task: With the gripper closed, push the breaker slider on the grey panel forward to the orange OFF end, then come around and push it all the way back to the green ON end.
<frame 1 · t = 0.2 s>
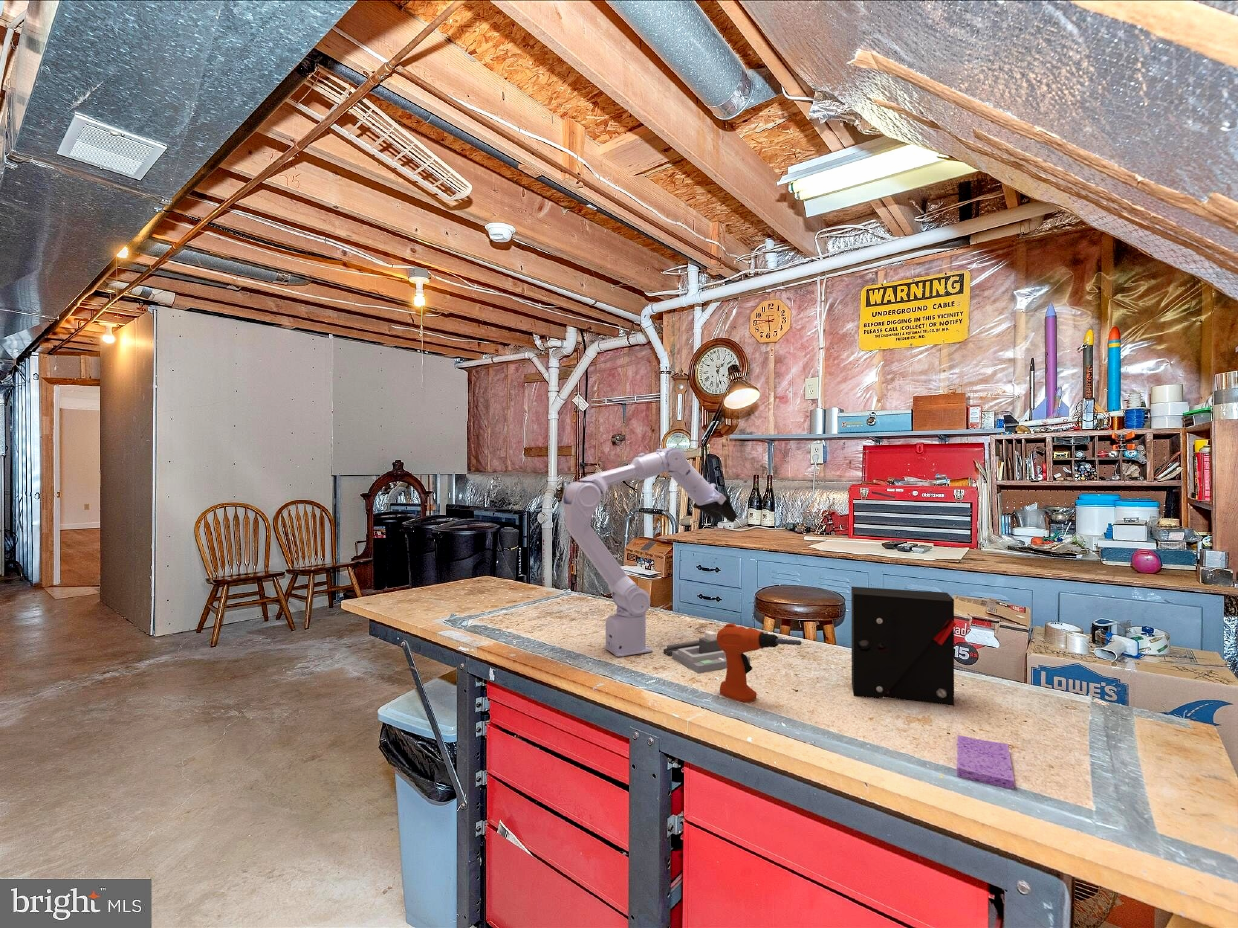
hand: (726, 517, 152), 31 cm above the table, fingers open, 7 cm apart
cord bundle: (692, 651, 140), on the table
sponges: (983, 767, 87), on the table
breaker slider: (710, 643, 133), point 4 cm above the table, slide at 3.0 cm
breaker panel: (710, 660, 133), on the table
electrical component: (900, 694, 114), on the table
toy drill: (757, 702, 110), on the table
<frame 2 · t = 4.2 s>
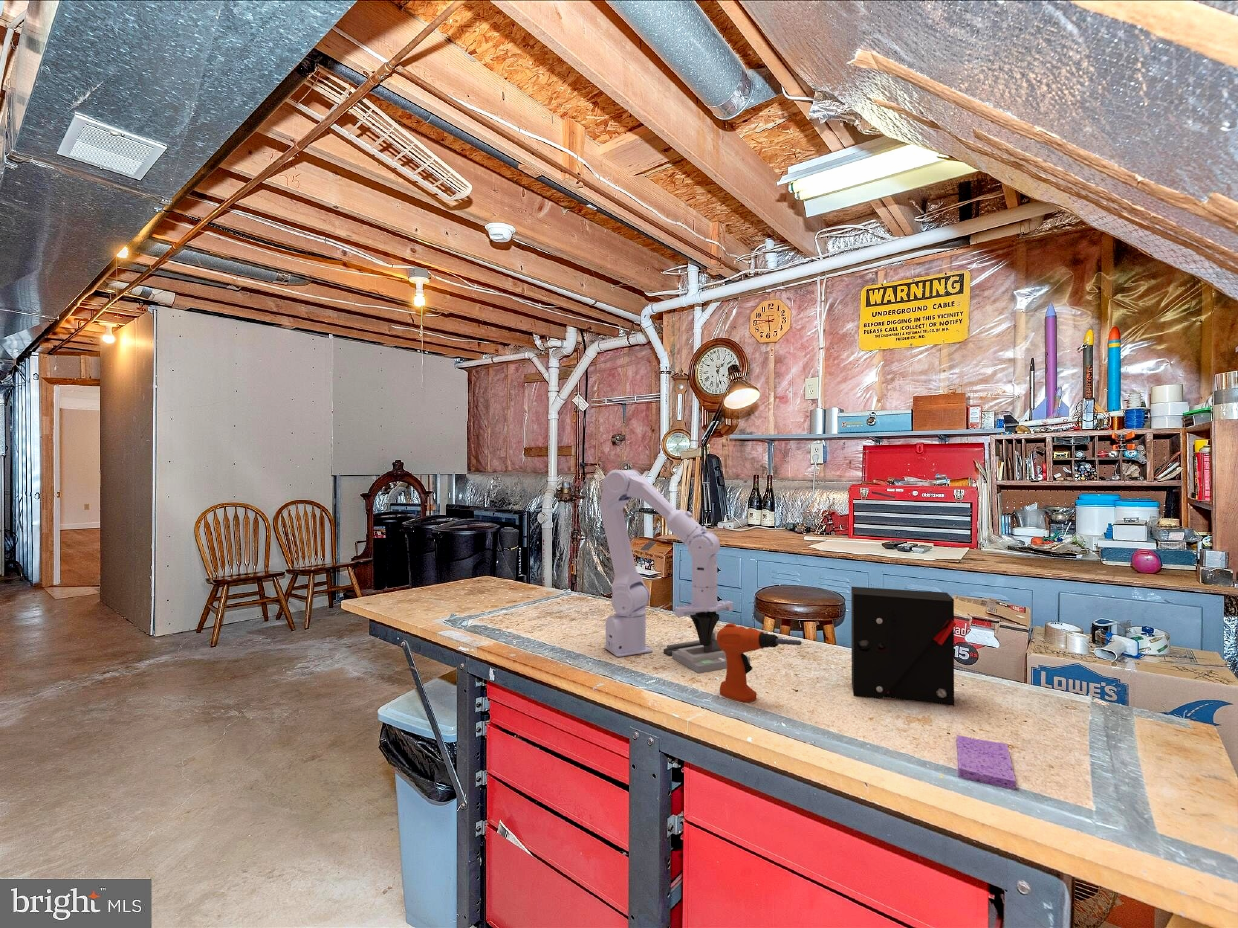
hand: (704, 644, 132), 4 cm above the table, fingers closed
breaker slider: (715, 642, 133), point 4 cm above the table, slide at 4.3 cm, touching gripper
everything else where it was.
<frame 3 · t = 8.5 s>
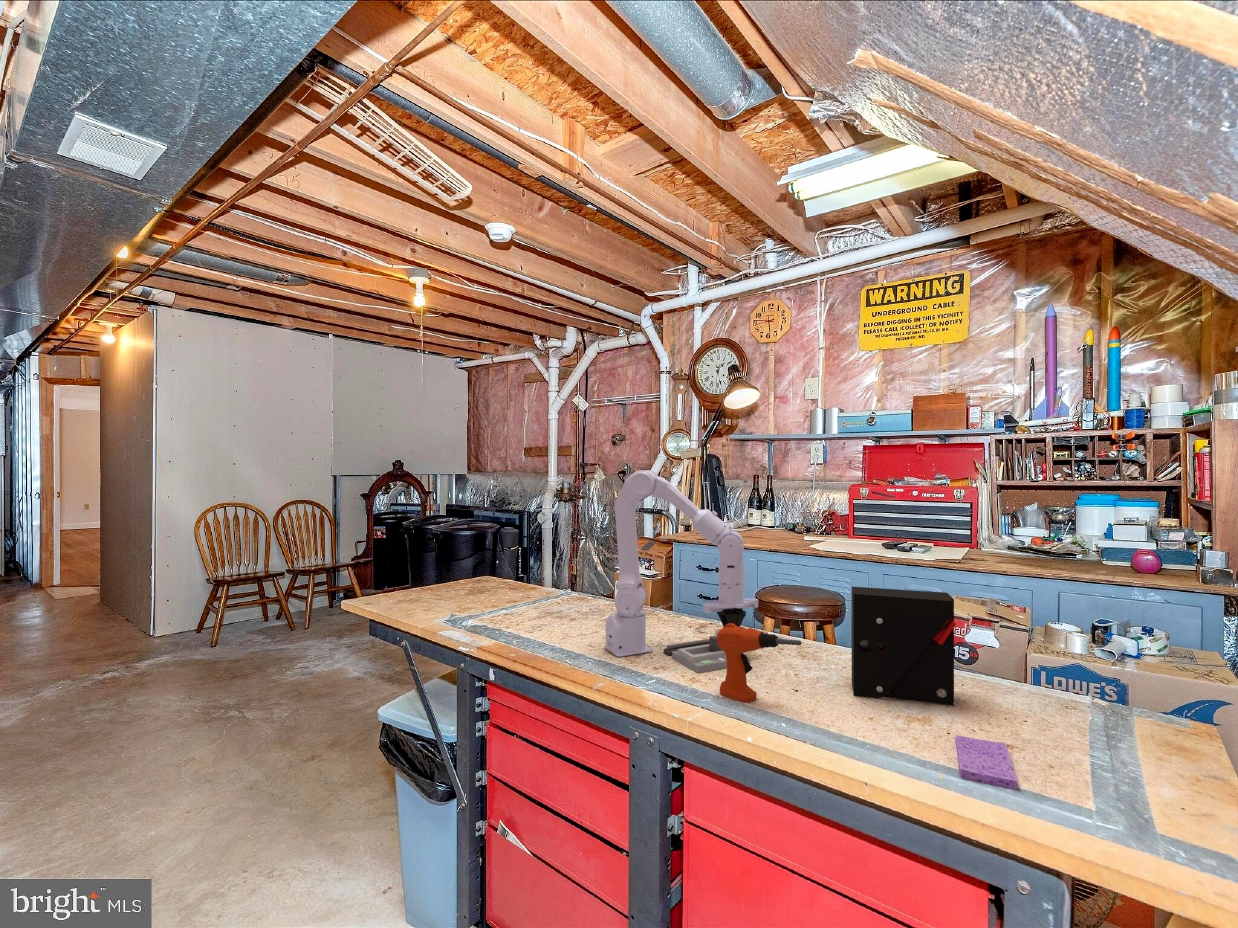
hand: (731, 640, 135), 4 cm above the table, fingers closed
breaker slider: (720, 641, 134), point 4 cm above the table, slide at 5.9 cm, touching gripper
everything else where it was.
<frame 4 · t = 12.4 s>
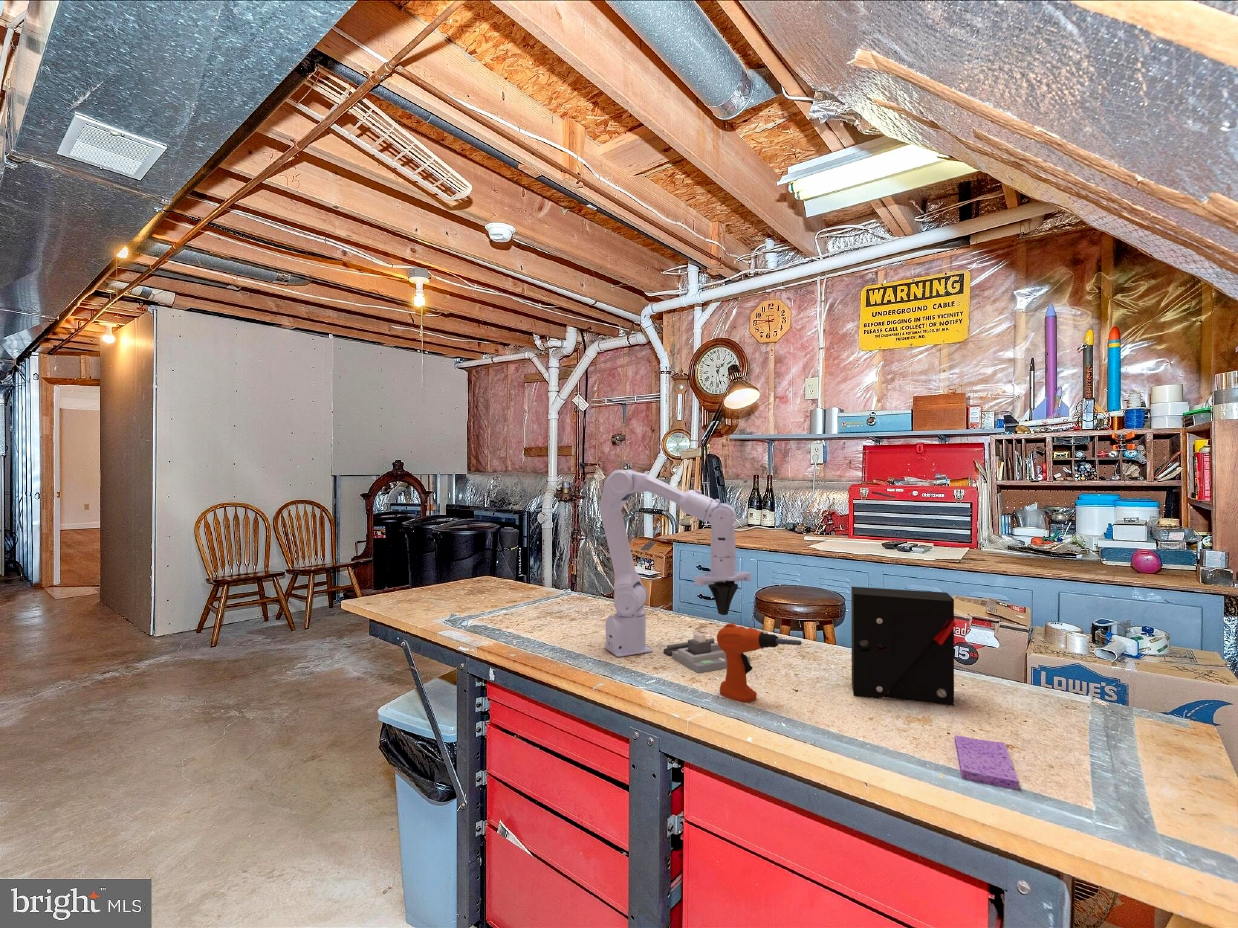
hand: (722, 613, 134), 10 cm above the table, fingers closed
breaker slider: (699, 644, 132), point 4 cm above the table, slide at 0.0 cm
everything else where it was.
at the end: breaker slider slide at 0.0 cm; breaker slider 0.2 cm from the target spot, resting on breaker panel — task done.
